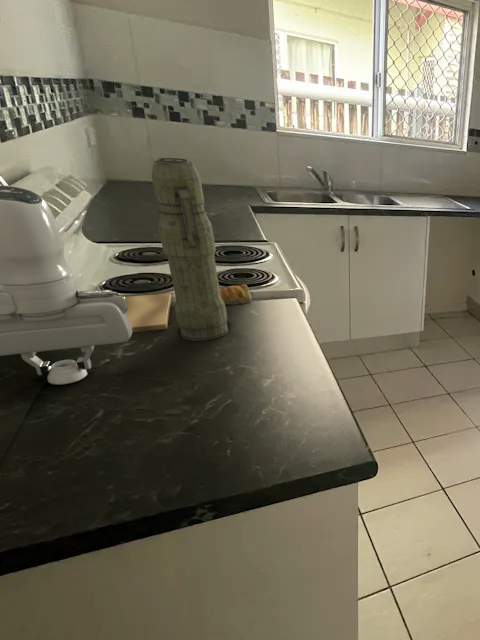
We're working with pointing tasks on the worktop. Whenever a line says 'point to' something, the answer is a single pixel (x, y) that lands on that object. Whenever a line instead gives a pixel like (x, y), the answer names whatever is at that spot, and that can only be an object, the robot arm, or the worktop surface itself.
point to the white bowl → (65, 372)
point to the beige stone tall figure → (189, 249)
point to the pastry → (235, 295)
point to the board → (148, 312)
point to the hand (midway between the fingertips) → (65, 370)
